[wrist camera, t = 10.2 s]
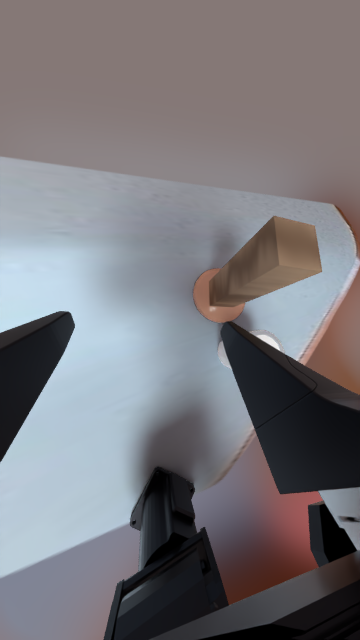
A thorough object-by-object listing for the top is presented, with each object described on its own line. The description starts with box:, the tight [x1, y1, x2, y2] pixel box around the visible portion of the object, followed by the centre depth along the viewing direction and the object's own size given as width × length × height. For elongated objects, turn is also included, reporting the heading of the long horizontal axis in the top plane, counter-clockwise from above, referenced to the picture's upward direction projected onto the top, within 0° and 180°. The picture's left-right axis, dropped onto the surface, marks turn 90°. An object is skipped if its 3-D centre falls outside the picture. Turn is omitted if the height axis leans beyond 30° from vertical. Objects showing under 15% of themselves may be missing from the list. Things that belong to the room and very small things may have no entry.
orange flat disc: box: [193, 269, 245, 323], centre depth 24 cm, size 10×10×1 cm
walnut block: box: [209, 216, 322, 307], centre depth 18 cm, size 4×4×13 cm
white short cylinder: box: [218, 330, 285, 370], centre depth 20 cm, size 7×7×7 cm
